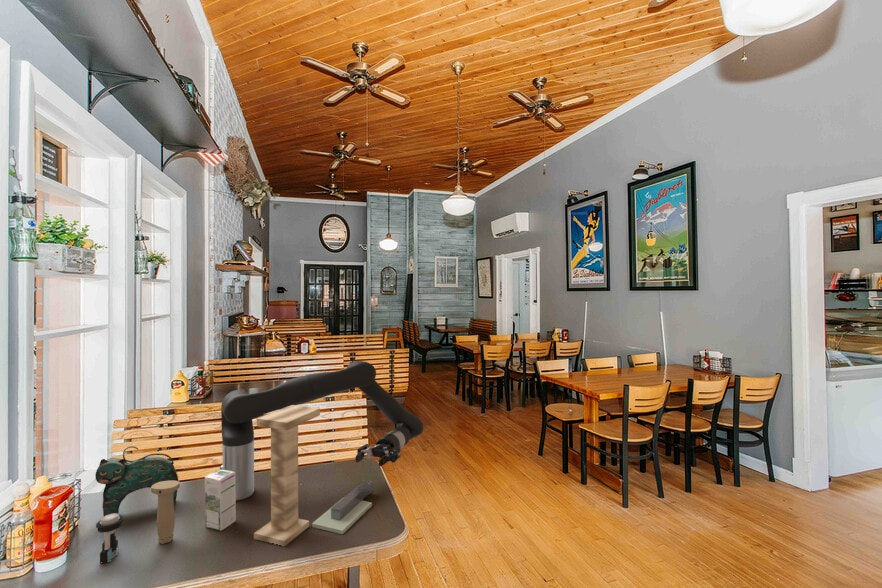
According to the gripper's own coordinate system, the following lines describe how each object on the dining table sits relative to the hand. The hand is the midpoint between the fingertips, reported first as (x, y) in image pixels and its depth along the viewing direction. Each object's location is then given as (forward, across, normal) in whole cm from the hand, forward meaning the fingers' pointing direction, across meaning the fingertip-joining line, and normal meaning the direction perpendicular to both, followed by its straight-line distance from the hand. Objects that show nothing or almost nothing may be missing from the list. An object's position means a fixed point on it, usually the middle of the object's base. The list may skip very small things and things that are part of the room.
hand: (368, 461), depth 136 cm
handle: (+41, -37, +10) cm, 57 cm away
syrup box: (+30, -30, +11) cm, 44 cm away
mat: (+14, 0, +11) cm, 18 cm away
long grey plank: (+9, 0, +10) cm, 13 cm away
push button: (+50, -44, +10) cm, 68 cm away
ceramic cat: (+33, -59, +10) cm, 69 cm away
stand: (+25, -11, +10) cm, 29 cm away
